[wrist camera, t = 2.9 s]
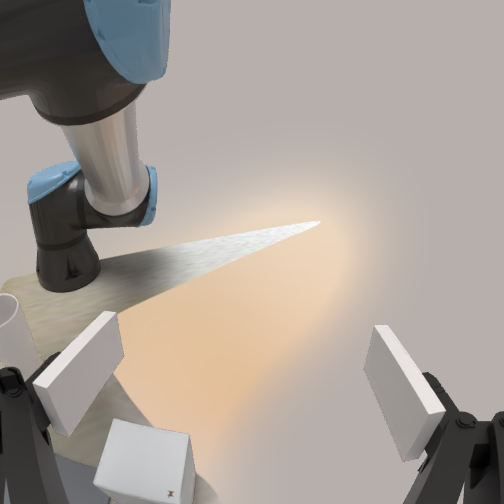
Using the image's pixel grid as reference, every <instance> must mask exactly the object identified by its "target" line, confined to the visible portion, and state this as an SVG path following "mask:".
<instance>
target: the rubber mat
mask: <svg viewBox="0 0 504 504" xmlns="http://www.w3.org/2000/svg"><path fill="white" fill-rule="evenodd" d="M54 455H55V459H56V463H57V466H58V470H59V473H60V477H61V480H62V483H63V486H64V489H65V492H66V495H67V498H68V501H69V504H109V501H110V497H109V496H108V495H106V494H105V493H104V492H102V491H101V490H100V489H99V488H98V487H96V486H95V485H94V484H93V481H94V477H95V474H96V471H97V469H96V468H93V467H90V466H87V465H84V464H81V463H78V462H75V461H72V460H70V459H67V458H64V457H62V456H59V455H57V454H54ZM4 504H10V499H9V493H8V487H7V481H6V482H5V494H4Z"/></svg>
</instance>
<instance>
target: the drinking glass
mask: <svg viewBox="0 0 504 504" xmlns="http://www.w3.org/2000/svg"><path fill="white" fill-rule="evenodd" d="M0 361H1V362H2V364H3V365H4V366H5V367H16V368H18V369H19V370H20V371H21V374H22V376H23V379H24V381H26V380H27V379H28V378H29V377H30V376H31V375H32V374H33V373H34V372H35V371H36V370H37V369H38V368H39V367H40V366H41V365H42V364H43V362H42V360H41V358H40V355H39V352H38V350H37V347H36V345H35V342H34V339H33V336H32V333H31V330H30V328H29V325H28V322H27V320H26V317H25V315H24V313H23V310H22V308H21V306H20V304H19V302H18V300H17V298H16V297H15V296H13V295H11V294H0Z"/></svg>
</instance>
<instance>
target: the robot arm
mask: <svg viewBox="0 0 504 504" xmlns="http://www.w3.org/2000/svg"><path fill="white" fill-rule="evenodd" d="M170 6H171V0H0V100H2V99H7V98H11V97H16V96H20V95H25V94H26V95H29V97H30V99H31V101H32V103H33V105H34V107H35V109H36V110H37V112H38V114H39V115H40V116H41V117H42V118H43V119H44V120H46V121H47V122H49V123H52V124H54V125H57V126H60V127H61V128H62V130H63V132H64V134H65V137H66V139H67V141H68V143H69V145H70V147H71V149H72V151H73V154H74V156H75V158H76V160H77V161H69V162H63V163H59V164H56V165H53V166H50V167H48V168H45V169H43V170H41V171H39V172H38V173H36V174H35V175H33V176H32V177H31V178H30V179H29V181H28V184H27V193H28V204H29V209H30V214H31V219H32V224H33V228H34V234H35V238H36V242H37V266H36V267H37V268H36V272H37V276H38V279H39V282H40V284H41V285H42V286H43V287H44V288H45V289H47V290H50V291H54V292H67V291H72V290H75V289H78V288H81V287H83V286H85V285H87V284H88V283H90V282H91V281H92V280H93V279H94V278H95V277H96V276H97V274H98V273H99V270H100V263H99V258H98V255H97V253H96V251H95V249H94V247H93V245H92V243H91V241H90V239H89V237H88V235H87V229H95V228H114V227H140V226H146V225H149V224H151V223H152V222H153V220H154V217H155V211H156V207H155V206H156V203H157V173H156V170H155V168H154V167H153V166H148V165H144V164H143V162H142V161H141V160H140V159H139V158H138V145H137V131H136V112H135V100H136V99H137V98H138V97H139V96H140V95H141V93H142V92H143V91H144V89H145V88H146V85H147V83H148V82H150V81H152V80H157V79H159V78H161V77H163V75H164V74H165V71H166V68H167V60H168V49H169V34H170V28H169V27H170V8H171V7H170ZM123 357H124V353H123V348H122V343H121V337H120V331H119V325H118V319H117V313H116V312H109V311H103V312H102V313H101V314H100V315H99V316H98V317H97V318H96V319H95V320H94V321H93V322H92V323H91V324H90V325H89V326H88V327H87V328H86V329H85V330H84V331H83V332H82V333H81V334H80V335H79V336H78V337H77V338H76V339H75V340H74V341H73V342H72V343H71V344H70V345H69V346H68V347H67V348H66V349H65V350H64V351H63V352H57V353H55V354H54V355H52V356H50V357H49V358H48V359H47V360H46V361H45V362H44V364H42V365H41V366H40V367H39V368H38V369H37V370H36V371H35V372H34V373H33V374H32V375H31V376H30V377H29V378H28V379H27V380H26V381H24V379H23V376H22V374H21V371H20V370H19V369H18V368H16V367H5V368H2V369H1V370H0V504H4V494H5V482H6V481H7V487H8V493H9V499H10V504H69V501H68V498H67V495H66V492H65V489H64V486H63V483H62V480H61V477H60V473H59V470H58V466H57V463H56V459H55V455H54V451H53V447H52V443H51V439H50V434H49V432H48V430H47V427H48V426H49V425H50V423H51V425H52V427H53V429H54V431H55V432H56V433H58V434H61V435H63V436H66V437H69V438H70V436H71V435H72V433H73V431H74V430H75V428H76V427H77V425H78V424H79V422H80V421H81V419H82V418H83V416H84V415H85V413H86V412H87V410H88V409H89V407H90V406H91V404H92V403H93V401H94V400H95V398H96V397H97V395H98V394H99V392H100V391H101V389H102V388H103V386H104V385H105V383H106V382H107V380H108V379H109V377H110V376H111V375H112V373H113V372H114V370H115V369H116V367H117V366H118V364H119V363H120V362H121V360H122V359H123ZM364 372H365V374H366V376H367V378H368V381H369V383H370V385H371V387H372V390H373V392H374V394H375V397H376V399H377V401H378V403H379V406H380V408H381V411H382V413H383V415H384V418H385V420H386V422H387V425H388V427H389V430H390V432H391V435H392V437H393V439H394V442H395V444H396V447H397V449H398V452H399V454H400V457H401V459H402V462H405V461H409V460H414V459H418V458H419V457H420V455H421V454H422V452H423V451H424V449H425V451H426V453H427V455H428V456H427V458H426V459H425V461H424V462H423V464H422V465H421V467H420V468H419V470H418V471H419V474H418V476H417V478H416V480H415V482H414V484H413V486H412V488H411V490H410V491H409V493H408V495H407V497H406V499H405V501H404V503H403V504H457V501H458V498H459V496H460V493H461V490H462V487H463V484H464V481H465V485H464V499H463V504H504V411H503V412H498V413H496V414H495V416H494V418H493V419H492V421H477V419H476V418H475V417H474V416H473V415H472V414H469V413H467V412H460V411H459V410H458V409H457V407H456V406H455V404H454V403H453V401H452V400H451V398H450V397H449V395H448V394H447V393H445V390H444V388H443V387H441V384H440V383H439V381H438V380H437V378H435V377H434V376H433V375H431V374H430V373H429V372H425V373H421V372H420V371H419V369H418V367H417V366H416V365H415V363H414V362H413V360H412V359H411V357H410V356H409V354H408V353H407V352H406V350H405V349H404V347H403V346H402V345H401V343H400V342H399V340H398V339H397V337H396V336H395V335H394V333H393V332H392V331H391V329H390V328H389V327H388V325H376V326H374V328H373V333H372V337H371V342H370V346H369V350H368V354H367V358H366V362H365V366H364Z"/></svg>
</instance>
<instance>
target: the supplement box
mask: <svg viewBox="0 0 504 504" xmlns="http://www.w3.org/2000/svg"><path fill="white" fill-rule="evenodd" d="M195 479H196V471H195V466H194V460H193V453H192V447H191V441H190V435H189V434H186V433H180V432H175V431H169V430H164V429H158V428H154V427H149V426H144V425H140V424H135V423H131V422H127V421H123V420H119V419H115V418H114V419H113V422H112V425H111V428H110V431H109V434H108V437H107V441H106V444H105V447H104V450H103V453H102V456H101V459H100V462H99V465H98V468H97V471H96V474H95V477H94V481H93V484H94V485H95V486H96V487H98V488H99V489H100V490H101V491H102V492H104V493H105V494H106V495H108V496H109V497H110V498H112V499H113V500H115V501H116V502H117V503H119V504H192V503H193V496H194V488H195Z"/></svg>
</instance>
